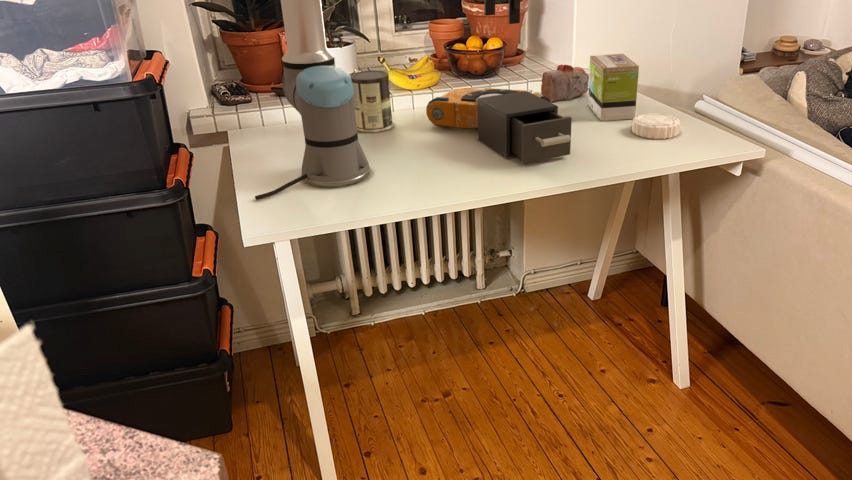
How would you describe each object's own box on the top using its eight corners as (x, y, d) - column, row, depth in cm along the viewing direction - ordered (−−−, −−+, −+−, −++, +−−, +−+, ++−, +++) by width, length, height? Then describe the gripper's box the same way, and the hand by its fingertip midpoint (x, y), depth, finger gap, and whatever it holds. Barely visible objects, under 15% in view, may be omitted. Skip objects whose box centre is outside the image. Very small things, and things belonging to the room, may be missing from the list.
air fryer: (556, 149, 172) (557, 105, 167) (506, 158, 167) (506, 114, 162) (525, 131, 184) (525, 90, 179) (478, 139, 179) (477, 98, 174)
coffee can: (382, 118, 197) (377, 68, 190) (399, 127, 190) (395, 75, 183) (348, 125, 192) (342, 74, 185) (365, 135, 185) (359, 81, 178)
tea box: (586, 106, 204) (589, 54, 196) (620, 104, 204) (624, 52, 197) (600, 121, 191) (603, 66, 183) (636, 119, 191) (640, 64, 184)
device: (453, 77, 203) (553, 84, 194) (454, 106, 207) (553, 113, 198) (422, 98, 185) (531, 106, 175) (424, 128, 189) (531, 138, 179)
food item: (573, 91, 218) (575, 59, 213) (590, 96, 212) (592, 63, 207) (538, 98, 212) (538, 65, 207) (554, 104, 206) (555, 70, 201)
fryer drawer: (580, 160, 162) (581, 122, 158) (532, 169, 157) (533, 131, 153) (539, 137, 177) (540, 102, 173) (494, 145, 172) (494, 109, 168)
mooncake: (688, 134, 179) (690, 121, 177) (651, 142, 175) (652, 128, 173) (658, 122, 189) (660, 109, 187) (622, 129, 184) (623, 116, 182)
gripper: (542, -74, 156) (539, 25, 166) (493, -79, 175) (493, 10, 186) (512, -73, 153) (510, 28, 163) (466, -78, 173) (467, 12, 183)
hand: (501, 19), depth 174 cm, fingers open, 13 cm apart
